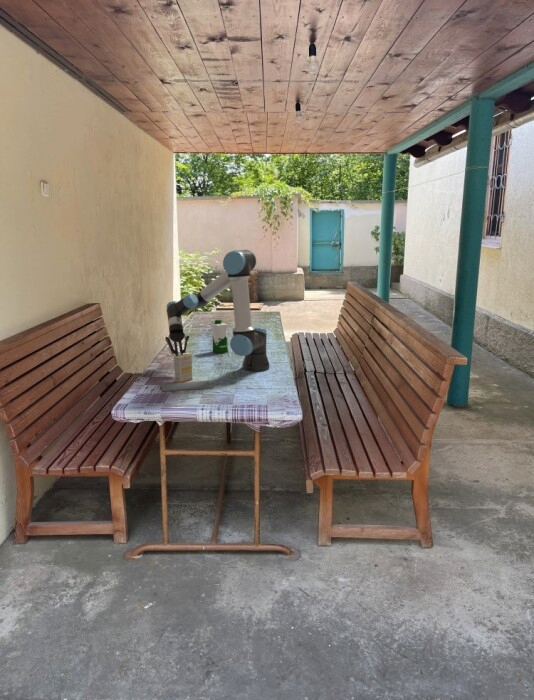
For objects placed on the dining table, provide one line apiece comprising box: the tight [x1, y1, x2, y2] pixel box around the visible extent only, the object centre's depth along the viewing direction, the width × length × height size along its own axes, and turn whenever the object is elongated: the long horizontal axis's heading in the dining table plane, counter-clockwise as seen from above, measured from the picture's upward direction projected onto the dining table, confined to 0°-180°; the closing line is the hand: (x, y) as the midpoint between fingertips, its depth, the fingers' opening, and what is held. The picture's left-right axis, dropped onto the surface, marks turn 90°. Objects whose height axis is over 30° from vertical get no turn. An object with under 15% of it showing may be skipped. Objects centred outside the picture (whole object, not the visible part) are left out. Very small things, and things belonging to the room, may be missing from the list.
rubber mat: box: [160, 380, 214, 393], centre depth 257 cm, size 24×12×1 cm, turn 106°
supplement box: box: [173, 353, 193, 383], centre depth 267 cm, size 8×5×13 cm, turn 141°
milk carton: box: [211, 319, 229, 354], centre depth 331 cm, size 9×9×20 cm
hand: (180, 363), depth 275 cm, fingers closed
